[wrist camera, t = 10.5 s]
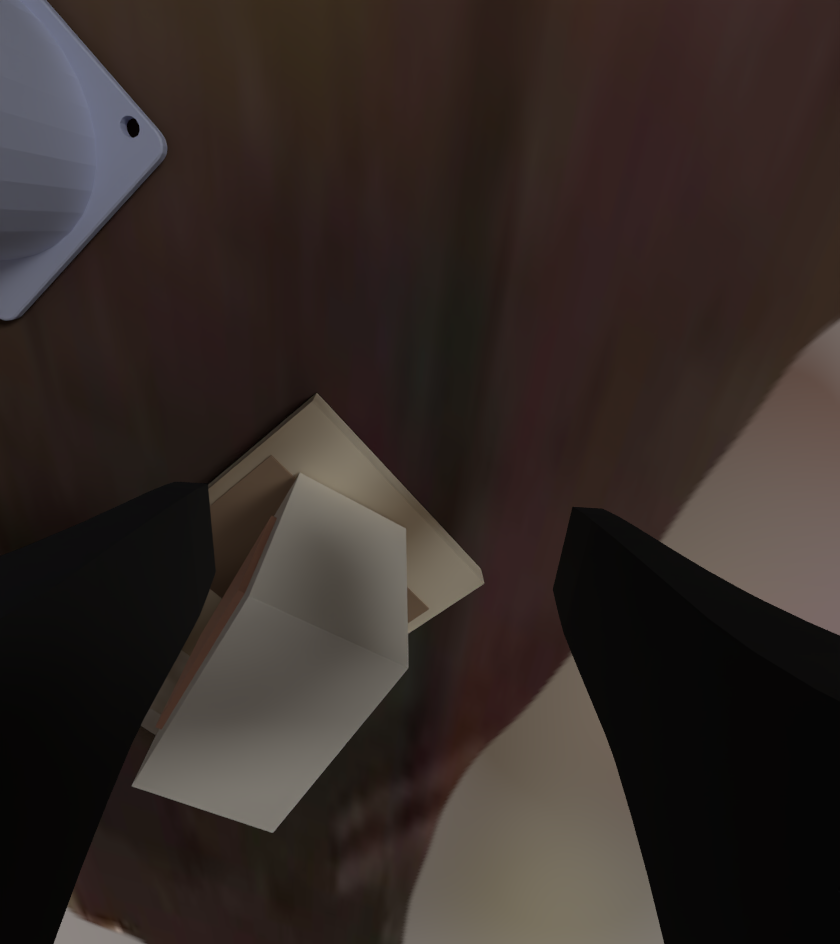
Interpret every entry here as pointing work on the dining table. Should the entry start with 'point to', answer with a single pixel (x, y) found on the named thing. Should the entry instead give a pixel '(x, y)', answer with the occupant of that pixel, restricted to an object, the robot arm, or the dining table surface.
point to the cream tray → (343, 470)
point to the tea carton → (286, 661)
